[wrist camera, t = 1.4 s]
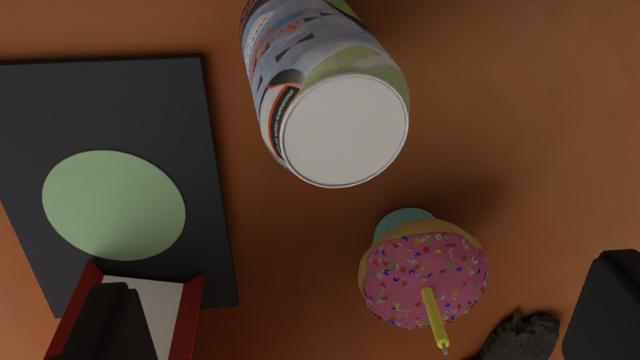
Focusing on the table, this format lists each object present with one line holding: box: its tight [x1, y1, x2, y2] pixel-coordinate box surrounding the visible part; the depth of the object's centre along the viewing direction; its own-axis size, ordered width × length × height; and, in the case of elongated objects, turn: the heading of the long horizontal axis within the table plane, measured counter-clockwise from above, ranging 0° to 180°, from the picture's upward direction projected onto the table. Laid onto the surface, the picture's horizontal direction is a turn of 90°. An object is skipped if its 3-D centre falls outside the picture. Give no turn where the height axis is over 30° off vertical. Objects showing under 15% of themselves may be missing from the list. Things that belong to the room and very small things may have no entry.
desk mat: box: [0, 54, 239, 318], centre depth 32 cm, size 20×14×1 cm
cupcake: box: [358, 208, 489, 355], centre depth 31 cm, size 9×8×12 cm
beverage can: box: [239, 0, 410, 188], centre depth 22 cm, size 6×7×12 cm
